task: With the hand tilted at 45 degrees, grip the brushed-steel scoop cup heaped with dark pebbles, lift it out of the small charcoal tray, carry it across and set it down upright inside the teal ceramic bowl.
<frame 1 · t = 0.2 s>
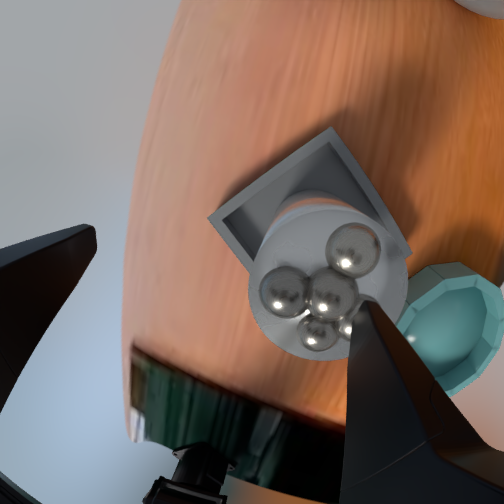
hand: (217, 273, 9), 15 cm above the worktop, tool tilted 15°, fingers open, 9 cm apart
bowl: (437, 327, 24), on the worktop
parts tray: (312, 229, 24), on the worktop
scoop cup: (313, 231, 23), point 1 cm above the worktop, touching parts tray
donut: (456, 0, 15), on the worktop
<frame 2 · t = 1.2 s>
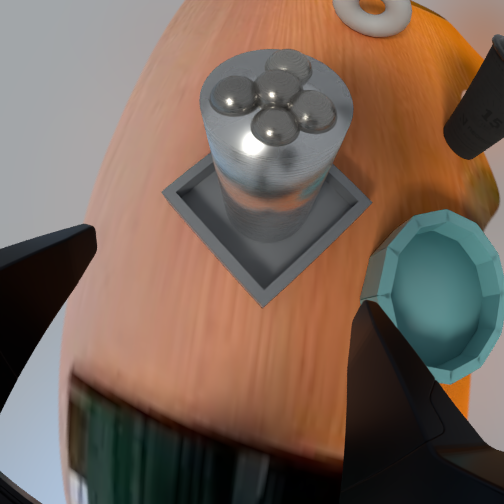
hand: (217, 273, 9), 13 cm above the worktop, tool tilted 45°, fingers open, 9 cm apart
bowl: (430, 299, 22), on the worktop
parts tray: (266, 205, 24), on the worktop
drinking cup: (459, 141, 26), on the worktop
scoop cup: (267, 202, 23), point 1 cm above the worktop, touching parts tray
donut: (362, 34, 29), on the worktop
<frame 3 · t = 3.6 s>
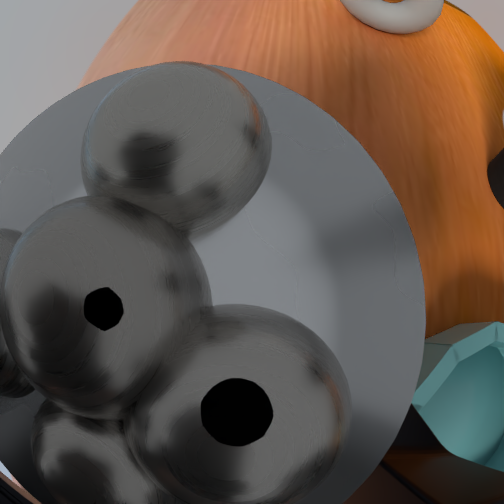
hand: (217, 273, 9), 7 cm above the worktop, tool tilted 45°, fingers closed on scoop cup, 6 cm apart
bowl: (449, 425, 13), on the worktop
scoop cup: (224, 319, 14), point 1 cm above the worktop, touching gripper, parts tray
donut: (376, 29, 21), on the worktop
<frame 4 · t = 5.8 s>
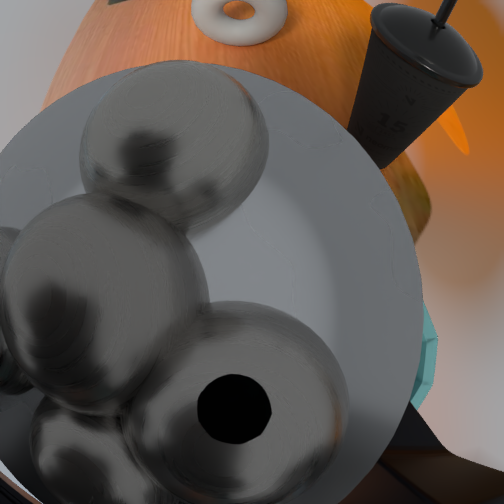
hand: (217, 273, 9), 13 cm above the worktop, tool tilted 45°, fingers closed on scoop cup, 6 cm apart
bowl: (340, 358, 21), on the worktop
drinking cup: (368, 148, 25), on the worktop
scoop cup: (223, 318, 14), point 8 cm above the worktop, touching gripper
donut: (240, 45, 28), on the worktop
when the fingers open (8 cm above the worktop, at t = 8.2 s): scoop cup drops 1 cm, resting on bowl.
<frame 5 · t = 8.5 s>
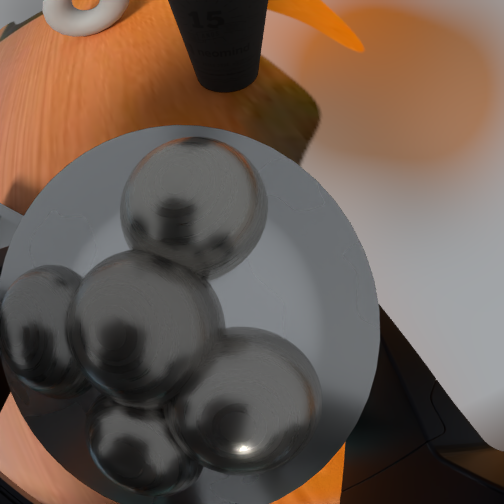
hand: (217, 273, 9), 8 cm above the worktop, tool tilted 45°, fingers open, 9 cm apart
parts tray: (18, 296, 17), on the worktop
drinking cup: (227, 73, 21), on the worktop
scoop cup: (226, 321, 16), point 1 cm above the worktop, touching bowl
donut: (100, 32, 23), on the worktop
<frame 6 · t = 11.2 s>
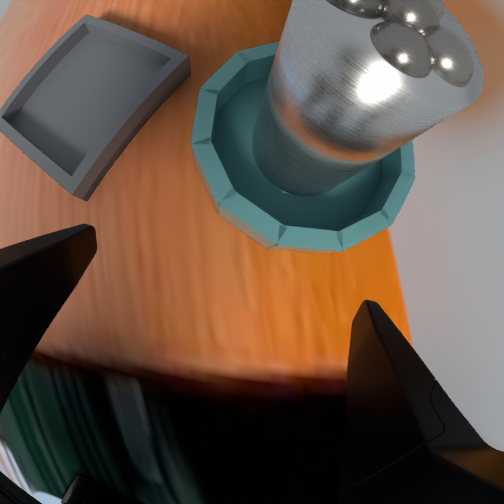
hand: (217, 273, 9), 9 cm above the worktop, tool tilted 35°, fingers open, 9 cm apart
bowl: (299, 150, 19), on the worktop
parts tray: (85, 99, 17), on the worktop
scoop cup: (303, 146, 18), point 1 cm above the worktop, touching bowl
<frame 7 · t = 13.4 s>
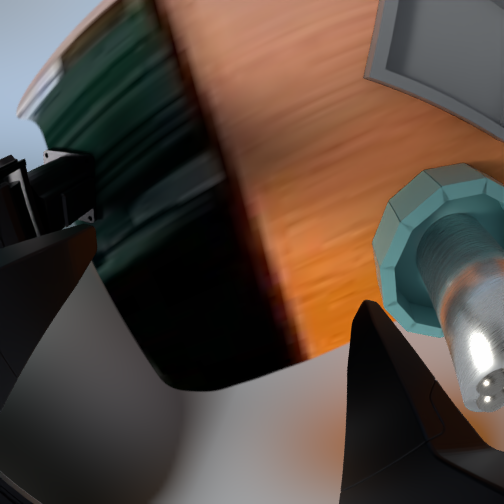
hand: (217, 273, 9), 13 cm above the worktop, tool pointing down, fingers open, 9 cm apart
bowl: (449, 245, 20), on the worktop
parts tray: (454, 38, 12), on the worktop
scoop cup: (452, 251, 19), point 1 cm above the worktop, touching bowl
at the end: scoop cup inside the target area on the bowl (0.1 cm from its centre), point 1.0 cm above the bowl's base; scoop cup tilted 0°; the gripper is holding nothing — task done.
